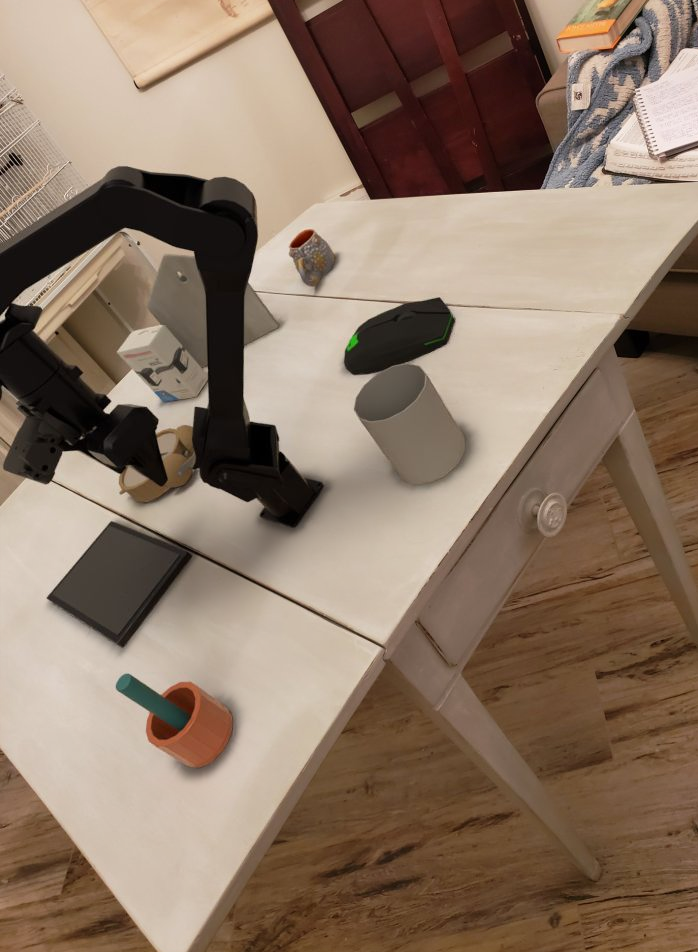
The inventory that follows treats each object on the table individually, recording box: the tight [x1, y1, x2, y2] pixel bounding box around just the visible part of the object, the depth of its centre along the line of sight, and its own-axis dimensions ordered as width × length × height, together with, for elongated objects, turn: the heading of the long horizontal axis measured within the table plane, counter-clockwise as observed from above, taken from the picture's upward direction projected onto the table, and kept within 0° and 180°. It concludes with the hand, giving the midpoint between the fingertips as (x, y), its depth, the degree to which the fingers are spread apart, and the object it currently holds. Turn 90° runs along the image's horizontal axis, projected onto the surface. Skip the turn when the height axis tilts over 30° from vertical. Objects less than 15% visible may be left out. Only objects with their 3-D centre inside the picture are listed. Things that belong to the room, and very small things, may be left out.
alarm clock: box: [118, 424, 194, 503], centre depth 103 cm, size 11×5×15 cm
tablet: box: [46, 520, 193, 648], centre depth 92 cm, size 20×13×1 cm, turn 54°
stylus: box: [115, 673, 191, 731], centre depth 65 cm, size 2×2×11 cm
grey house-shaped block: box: [146, 253, 280, 369], centre depth 118 cm, size 16×8×19 cm, turn 96°
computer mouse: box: [343, 296, 455, 376], centre depth 98 cm, size 11×16×4 cm
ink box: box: [116, 324, 208, 403], centre depth 116 cm, size 8×5×12 cm, turn 68°
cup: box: [353, 362, 466, 485], centre depth 77 cm, size 8×8×10 cm
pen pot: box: [145, 681, 234, 769], centre depth 67 cm, size 6×6×5 cm
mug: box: [288, 228, 336, 287], centre depth 123 cm, size 12×7×7 cm, turn 174°
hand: (143, 476), depth 80 cm, fingers open, 9 cm apart
